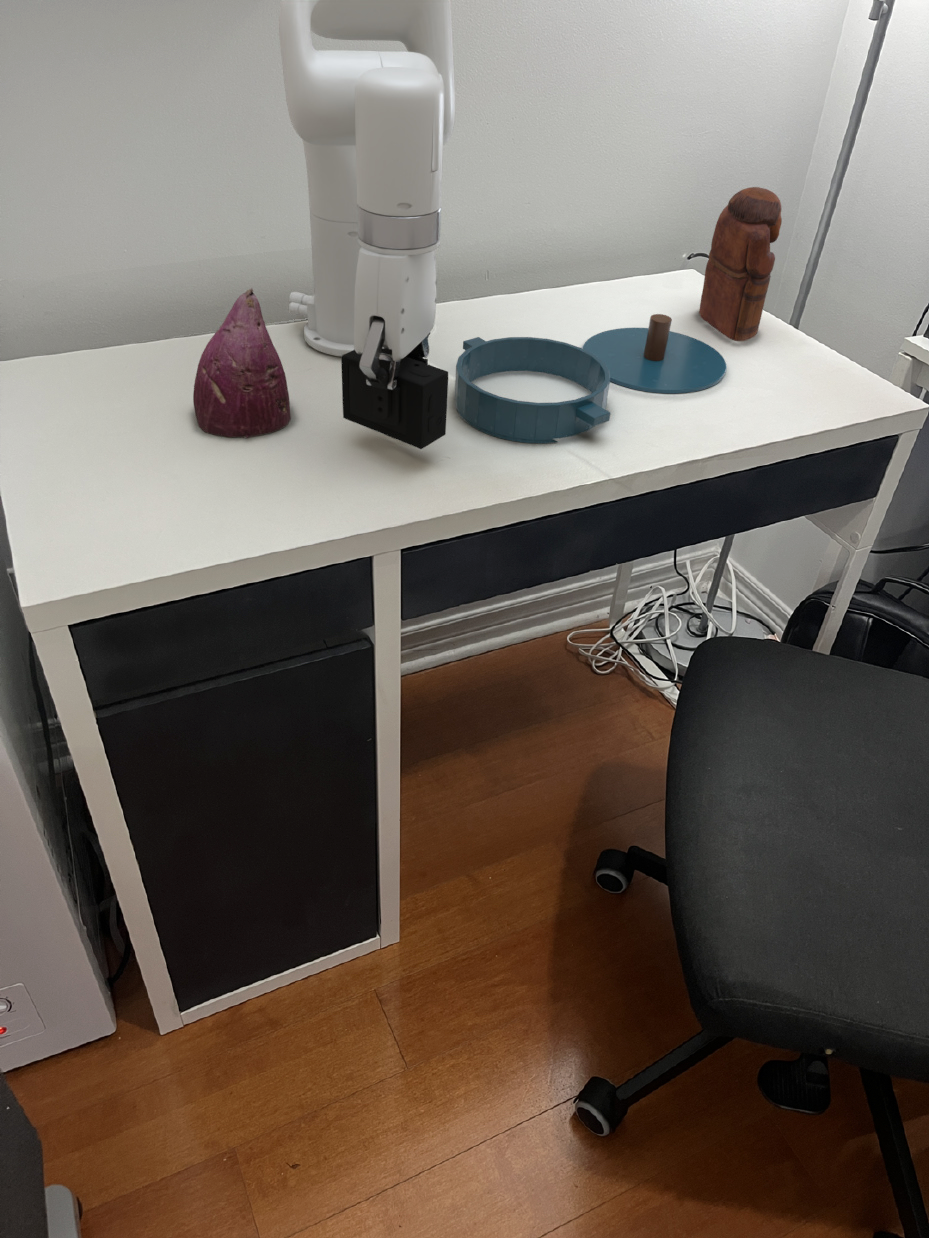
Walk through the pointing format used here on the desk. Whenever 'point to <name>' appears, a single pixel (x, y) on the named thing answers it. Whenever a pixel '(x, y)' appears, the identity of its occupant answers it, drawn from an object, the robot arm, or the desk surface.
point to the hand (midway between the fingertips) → (398, 405)
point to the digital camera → (417, 399)
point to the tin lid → (657, 358)
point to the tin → (530, 417)
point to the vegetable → (241, 377)
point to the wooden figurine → (741, 263)
